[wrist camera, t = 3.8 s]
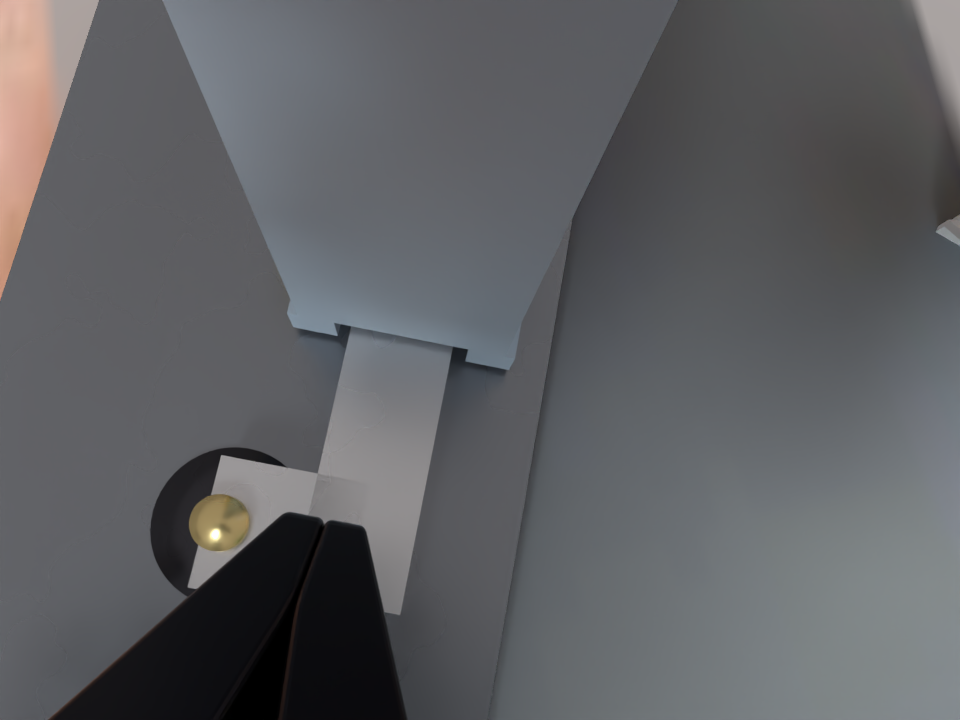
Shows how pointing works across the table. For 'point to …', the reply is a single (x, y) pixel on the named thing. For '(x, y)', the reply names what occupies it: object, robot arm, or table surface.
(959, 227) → the diorama
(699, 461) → the table surface
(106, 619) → the flange plate
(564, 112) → the gray rectangular block
